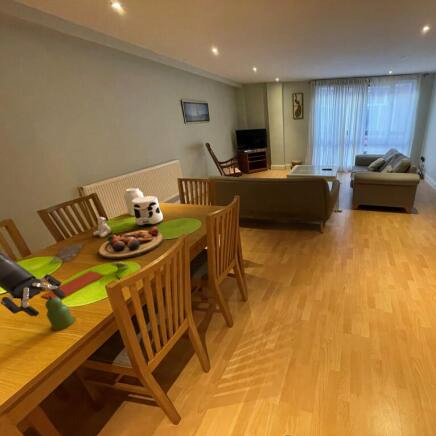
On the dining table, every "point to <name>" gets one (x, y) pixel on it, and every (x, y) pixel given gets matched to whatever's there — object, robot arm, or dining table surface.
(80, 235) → the dining table surface
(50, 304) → the pear
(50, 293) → the cloth
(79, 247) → the rug
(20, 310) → the robot arm
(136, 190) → the white vase
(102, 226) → the seated beast figurine
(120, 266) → the decorative flower
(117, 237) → the wooden plate
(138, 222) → the milk container
